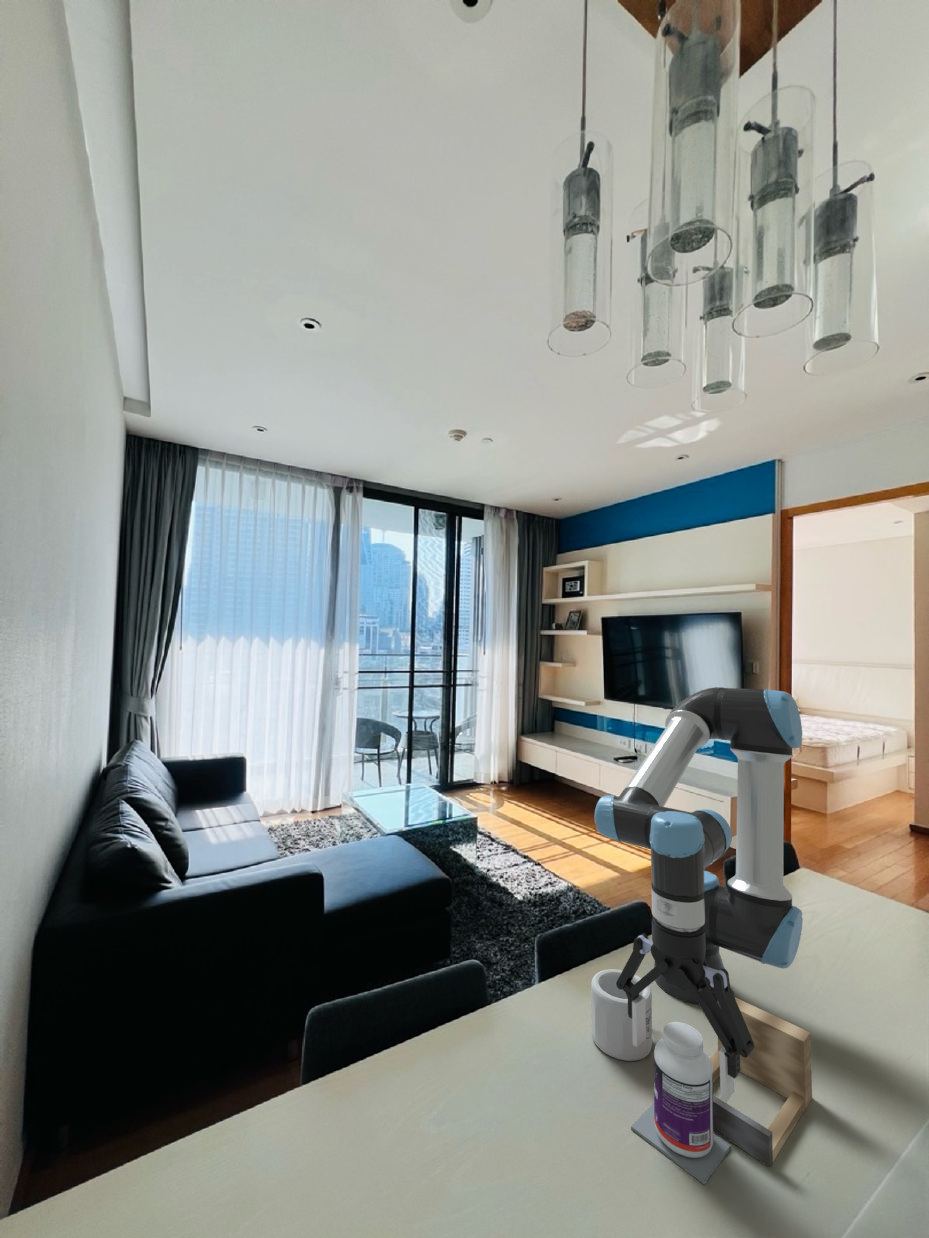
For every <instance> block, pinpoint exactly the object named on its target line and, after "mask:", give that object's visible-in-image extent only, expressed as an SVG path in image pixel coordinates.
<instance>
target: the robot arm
mask: <svg viewBox="0 0 929 1238" xmlns="http://www.w3.org/2000/svg"><path fill="white" fill-rule="evenodd" d="M664 726H665V728H664V730H663V731H662V733H661V734H660V736H659V738H658V739H657V740H656V742H655V743H654V744H653V746H652V748H651V749H650V751H649V752H648V753H647V755H646V756H645V757H644V759H643V761H642V762H641V764H640V765H639V767H638V768H637V769H636V771H635V773H634V774H633V776H632V778H630V780H629V782H628V783H627V784H626V786H624V789H623V790H622V791H621V793H620V794H619V796H616V795H606V794H605V795H603V796H601V797H600V798H599V800H598V801H597V803H596V806H595V809H594V824H595V828H596V831H597V832H598V833H599V834H600V835H601V836H602V837H605V838H609V839H611V840H613V841H617V842H619V843H626V844H629V845H633V846H638V847H641V848H646V849H649V850H650V866H651V867H650V869H651V871H650V872H651V874H650V875H651V883H650V884H651V914H652V918H651V940H652V941H651V940H650V939H649V936H648V935H647V934H646V933H642V934H640V935H638V936H637V937H636V938H634V939H633V944H632V952H631V954H630V956H629V958H628V960H627V962H626V964H625V965H624V967H623V969H622V970H623V971H622V973H621V975H620V976H619V978H618V980H617V982H616V986H617V987H618V989H620V990H623V991H624V992H625V993H626V995H627V997H628V1015H629V1017H630V1018H631V1019H632V1040H633V1045H634V1046H636V1047H638V1046H639V1045H640V1044H641V1043H642V1042H643V1041H644V1040H645V1039H646V1008H645V996H643V995H640V996H639V993H640V992H641V991H643V990H644V989H645V988H646V987H647V986H649V987H650V985H651V984H652V983H654V982H656V984H657V985H658V986H659V988H661V989H662V990H663V991H664V992H666V993H668V994H669V995H670V996H672V997H674V998H676V999H679V1000H681V1001H683V1002H687V1003H689V1004H690V1003H691V1004H696V1005H698V1006H699V1008H700V1009H701V1010H702V1013H703V1014H704V1015H705V1017H706V1019H707V1020H708V1023H709V1024H710V1027H712V1030H713V1031H714V1033H715V1035H716V1036H717V1039H718V1038H719V1040H720V1041H721V1043H722V1045H723V1047H722V1048H721V1049H720V1075H719V1084H720V1085H719V1086H720V1100H722V1101H724V1102H725V1103H727V1102H728V1101H729V1100H730V1099H731V1097H732V1096H733V1095H734V1093H735V1079H736V1078H737V1077H738V1076H739V1074H740V1073H741V1072H740V1055H741V1056H742V1057H745V1058H746V1057H748V1055H749V1054H750V1053H751V1052H752V1050H753V1049H754V1048H755V1045H754V1042H753V1040H752V1037H751V1035H750V1033H749V1030H748V1028H747V1025H746V1023H745V1021H744V1018H743V1016H742V1014H741V1011H740V1009H739V1007H738V1004H737V1002H736V999H735V995H734V991H732V988H731V983H730V975H729V972H728V970H727V969H726V968H725V966H724V963H723V962H724V961H723V959H722V956H721V953H720V948H722V949H725V950H727V951H730V952H732V953H733V952H734V953H736V954H738V955H741V956H743V957H746V958H748V959H752V960H754V961H758V962H760V963H761V964H762V965H763V964H764V965H765V964H766V965H769V966H772V967H775V968H779V969H788V968H789V967H791V965H793V962H794V960H795V959H796V955H797V952H798V949H799V946H800V942H801V937H802V930H803V922H804V921H803V919H804V918H803V912H802V910H801V909H800V908H799V907H797V906H795V905H793V895H792V893H791V892H790V891H789V890H788V889H787V888H786V886H785V885H784V830H785V829H784V827H785V826H784V825H785V824H784V810H785V809H784V807H785V806H784V803H785V802H784V801H785V800H784V799H785V797H784V794H785V793H784V792H785V791H784V790H785V789H784V788H785V787H784V784H785V783H784V782H785V778H784V777H785V774H784V773H785V772H784V771H785V770H784V769H785V766H784V765H785V763H786V762H787V761H788V760H790V759H791V758H793V749H794V750H795V749H799V748H801V746H802V743H803V738H802V737H803V727H802V720H801V714H800V709H799V707H798V705H797V702H796V700H795V697H793V696H792V695H791V694H790V693H789V692H786V691H782V690H775V689H769V688H765V689H763V688H762V689H761V688H733V687H721V686H720V687H717V686H716V687H715V686H714V687H709V688H706V689H702V690H699V691H697V692H695V693H693V694H691V695H690V696H688V697H687V696H686V698H684V699H683V700H681V701H680V702H679V703H678V704H676V705H675V706H674V707H673V709H672V710H671V711H670V712H669V714H668V715H667V717H666V719H665V722H664ZM710 740H721V741H723V740H724V741H728V742H729V741H730V742H729V743H730V745H729V750H730V751H731V752H732V753H733V754H734V755H735V756H736V758H737V781H736V782H737V785H736V786H737V787H736V788H737V789H736V792H737V794H736V841H735V842H736V845H735V846H736V851H735V853H736V854H735V855H736V856H735V857H736V859H735V875H734V876H732V877H731V878H729V879H728V880H727V886H722V885H720V880H719V878H718V876H717V875H716V874H714V873H713V872H710V871H707V870H706V869H707V868H708V867H709V866H711V865H713V863H714V862H716V861H717V860H720V859H721V858H722V857H723V856H724V855H725V854H726V851H728V849H729V848H730V847H731V844H732V840H733V834H732V829H731V827H730V824H729V822H728V821H727V820H726V818H724V816H722V815H721V814H720V813H718V812H716V811H714V810H712V809H699V810H698V809H697V810H694V811H693V812H692V811H686V810H681V809H676V808H672V807H667V806H666V807H665V805H666V803H667V802H668V800H669V798H670V797H671V795H672V793H673V792H674V790H675V788H676V786H677V785H678V783H679V782H680V779H681V778H682V776H683V775H684V773H685V770H686V769H687V767H688V766H689V764H690V762H691V761H692V759H693V757H694V756H695V754H696V752H697V750H698V749H700V748H702V747H705V746H706V744H707V743H708V742H709V741H710ZM648 953H650V954H651V956H652V957H653V960H654V962H653V963H654V964H653V968H652V969H651V970H650V971H649V972H647V973H646V974H645V975H644V976H643V977H641V978H642V979H640V980H639V981H638V982H637V983H636V984H635V985H634V984H633V983H632V982H631V981H632V979H633V977H634V975H636V973H637V971H638V969H639V968H640V966H641V965H642V962H643V960H644V958H645V956H646V955H647V954H648ZM717 1000H718V1002H719V1005H720V1006H719V1005H718V1003H717ZM720 1007H721V1008H720Z"/></svg>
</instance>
